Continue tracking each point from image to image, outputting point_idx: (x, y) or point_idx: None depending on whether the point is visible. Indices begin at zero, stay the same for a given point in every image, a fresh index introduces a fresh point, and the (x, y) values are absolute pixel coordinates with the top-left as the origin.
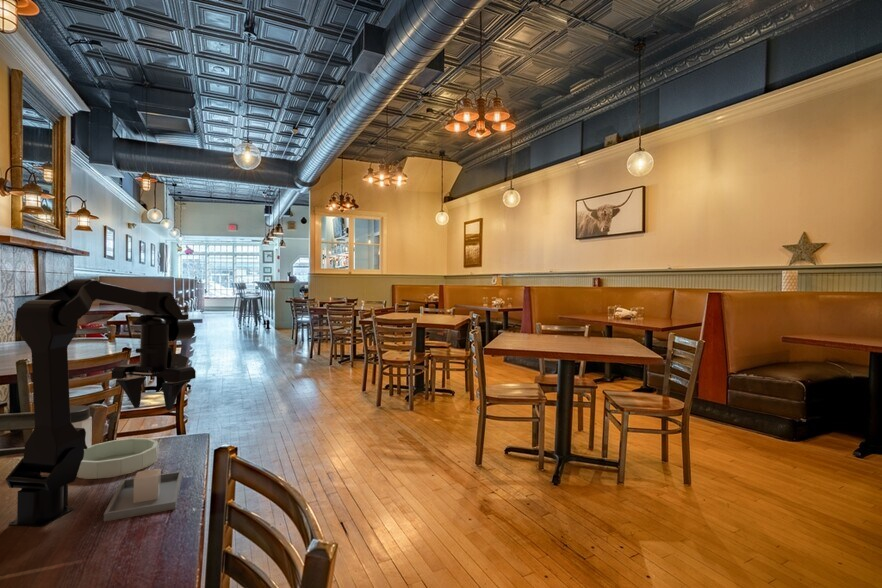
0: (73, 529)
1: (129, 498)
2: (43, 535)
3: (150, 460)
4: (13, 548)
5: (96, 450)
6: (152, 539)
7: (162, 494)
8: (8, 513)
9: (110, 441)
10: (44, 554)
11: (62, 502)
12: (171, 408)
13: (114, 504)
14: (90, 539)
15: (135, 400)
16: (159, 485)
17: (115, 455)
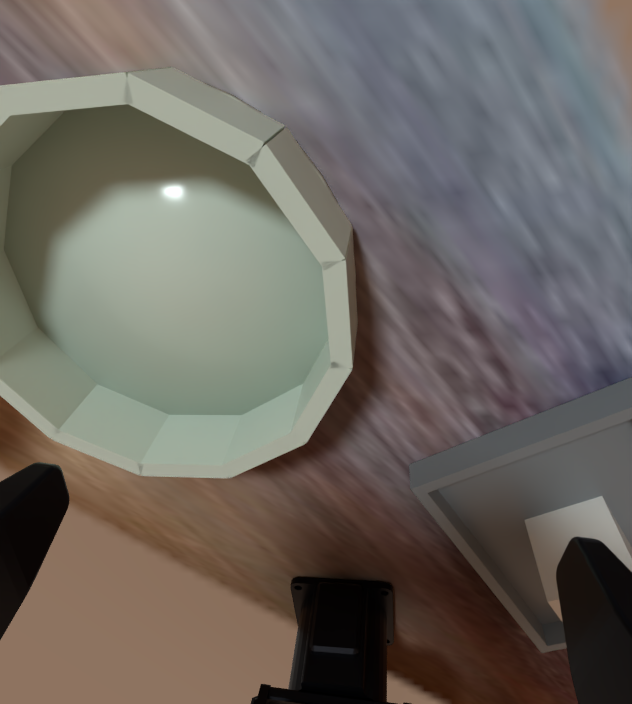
0: (473, 639)
1: (516, 541)
2: (423, 652)
3: (353, 277)
4: (407, 678)
5: None
6: None
7: (628, 517)
8: (225, 586)
9: None
10: (494, 694)
11: (380, 635)
12: (607, 562)
13: (510, 589)
14: (554, 666)
15: (5, 594)
16: (626, 543)
17: (28, 169)
